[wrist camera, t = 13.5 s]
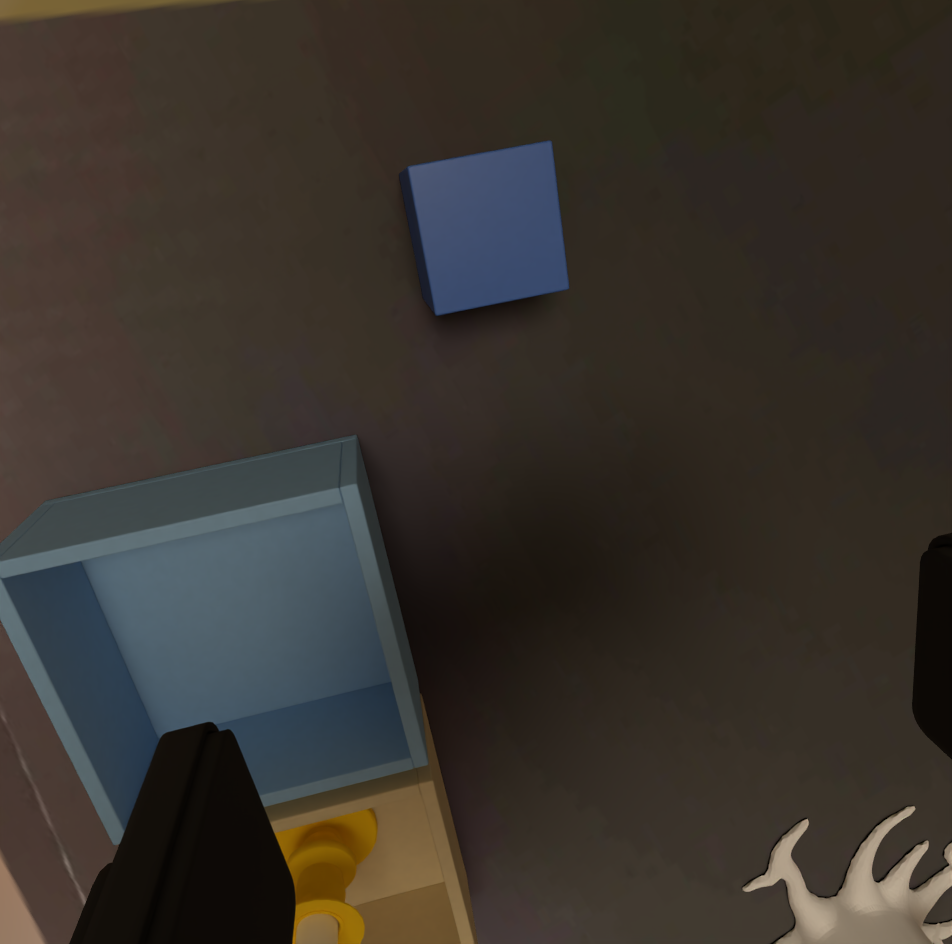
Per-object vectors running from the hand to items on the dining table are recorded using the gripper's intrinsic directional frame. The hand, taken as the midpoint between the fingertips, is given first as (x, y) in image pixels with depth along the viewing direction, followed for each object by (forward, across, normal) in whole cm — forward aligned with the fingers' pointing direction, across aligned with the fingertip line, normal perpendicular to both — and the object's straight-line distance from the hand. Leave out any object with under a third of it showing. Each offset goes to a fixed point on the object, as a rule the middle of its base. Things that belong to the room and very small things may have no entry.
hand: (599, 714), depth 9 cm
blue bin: (+20, +10, +8) cm, 24 cm away
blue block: (+20, -2, -5) cm, 21 cm away
